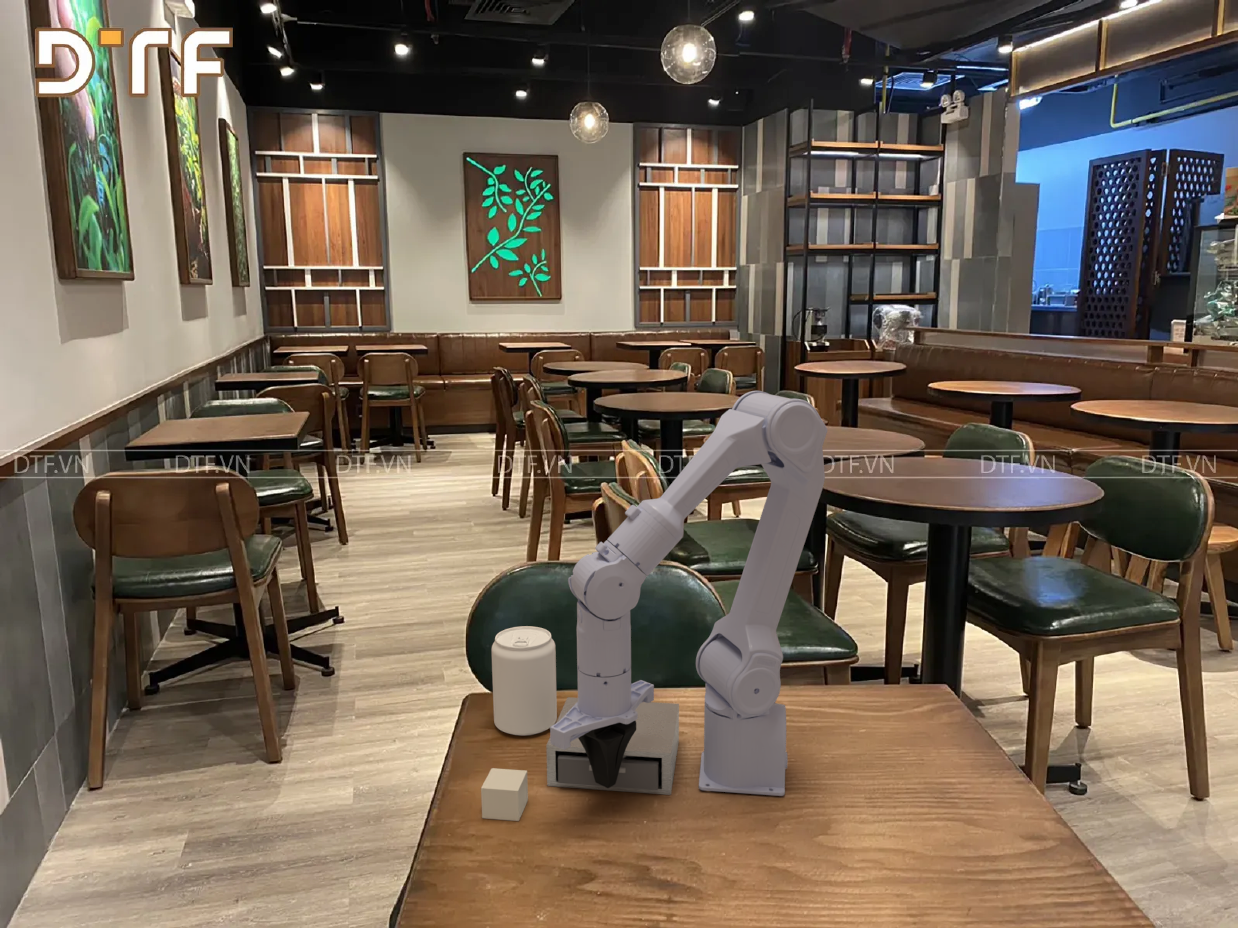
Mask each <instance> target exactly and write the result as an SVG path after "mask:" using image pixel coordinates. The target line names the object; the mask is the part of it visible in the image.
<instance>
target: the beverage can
mask: <svg viewBox="0 0 1238 928" xmlns="http://www.w3.org/2000/svg"><path fill="white" fill-rule="evenodd" d="M556 655H557V654H556V642H555V641H554V639H553V638H552V633H551V632H550V631H549V630H547V629H546V628H542V627H540V626H539V627H538V626H528V625H526V626H522V625H521V626H513V627H510V628H505V629H504V630H501V631H499V632H498V633H497V634H496V635H495V638H494V642H493V643H492V645H491V672H492V673H491V675H492V699H493V700H492V701H493V721H494V725H495V727H496V728H497V729H498V730H500V731H501V732H504V733H506V734H510V735H514V736H525V737H526V736H533V735H537V734H540V733H543V732H545V731H547V730H548V729H549V730H550V727H551V726H553V725H554V724H556V722H557V720H558V717H557V716H558V714H557V713H558V711H557V710H558V709H557V708H558V705H557V704H558V702H557V697H558V696H557V667H556V666H557V663H556V662H557V659H556V658H557V657H556Z"/></svg>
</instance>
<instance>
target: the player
mask: <svg viewBox="0 0 1238 928" xmlns="http://www.w3.org/2000/svg"><path fill="white" fill-rule="evenodd" d="M577 702H578V697H566V700H565V702H564V705H563V706H562V709H561V711H560V714H559V716H558V717H557V720H556V722H555V724H556V723H557V722H559V721H560V720H561V719H562V718H563V717H564V716H565V715H566V713H567V712H568V711H569V710H570V709H571V708H572V707H573V706H574V705H575V704H576V703H577ZM635 711H636V712H637V713H638V718H637V719H636V720H635V721H636V731H635V733H634V734H633V736H632V737H631V739H630V741H629V743H628V745H627V747H626V750H625V752H624V755H627V756H642V757H657V758H662V768H661V774H660V780H659V786H658V790H648V789H634V788H620V787H610V788H606V787H604V786H592V785H579V784H565V783H558V757H559V755H564V754H565V752H566V751H567V752H582V753H586V751H585V749H584V747H583V745H582V744H581V742H580V740H579V739H578V738H577V739H575V740H573V741H571V742H570V744H571V746H570V747H569V748H567V749H565V750H563V749H561V748H558V747H556V746H554V745H552V744H551V739H550V737H549V739H548V741H547V743H546V746H545V747H546V783H547V784H546V786H547V787H558V788H570V789H571V788H572V789H586V790H598V791H610V792H611V791H612V792H613V791H615V792H623V793H624V792H626V793H640V794H653V795H655V794H656V795H667V796H671V795H672V791H673V790H672V789H673V784H674V783H673V782H674V776H675V775H674V774H675V769H676V763H677V757H676V756H678V749H679V743H680V737H679V736H680V703H673V702H672V703H671V702H654V701H652V702H650V703H645V702H642V703H640V705H639V706H638V707H637V709H636V710H635Z"/></svg>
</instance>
